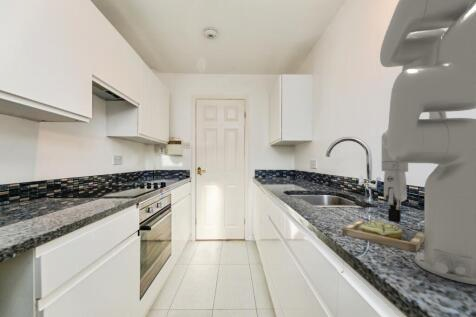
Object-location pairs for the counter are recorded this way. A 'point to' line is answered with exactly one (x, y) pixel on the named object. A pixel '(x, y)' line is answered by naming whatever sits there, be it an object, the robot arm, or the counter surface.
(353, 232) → the wooden bay
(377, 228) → the yellow-green flat piece
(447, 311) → the counter surface
